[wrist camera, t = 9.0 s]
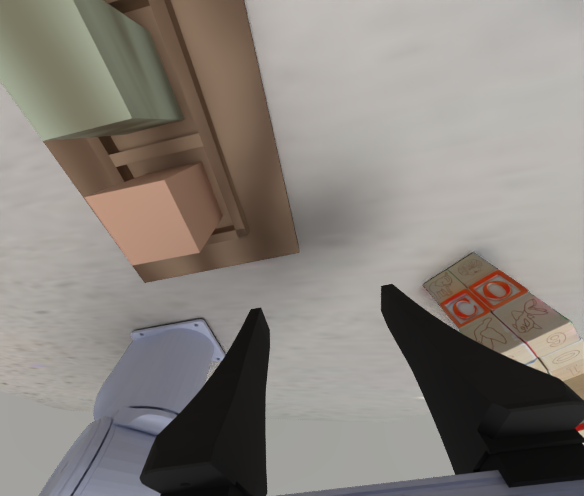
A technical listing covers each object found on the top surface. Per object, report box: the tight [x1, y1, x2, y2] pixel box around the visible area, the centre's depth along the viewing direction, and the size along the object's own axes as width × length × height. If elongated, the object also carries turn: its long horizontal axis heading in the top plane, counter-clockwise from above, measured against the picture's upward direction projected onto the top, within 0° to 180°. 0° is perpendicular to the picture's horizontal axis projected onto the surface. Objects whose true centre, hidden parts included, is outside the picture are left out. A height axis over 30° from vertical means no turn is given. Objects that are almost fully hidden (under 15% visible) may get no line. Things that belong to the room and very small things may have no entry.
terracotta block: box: [84, 162, 223, 266], centre depth 15 cm, size 4×4×6 cm
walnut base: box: [0, 0, 299, 283], centre depth 14 cm, size 16×22×7 cm
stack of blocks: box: [423, 253, 584, 445], centre depth 22 cm, size 21×6×12 cm, turn 46°
